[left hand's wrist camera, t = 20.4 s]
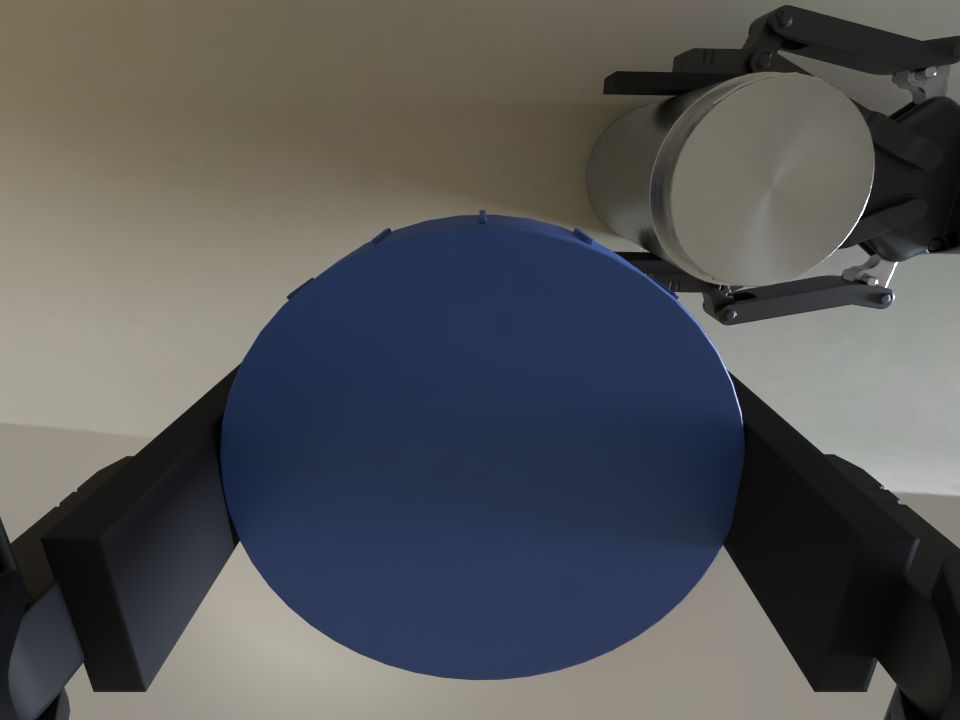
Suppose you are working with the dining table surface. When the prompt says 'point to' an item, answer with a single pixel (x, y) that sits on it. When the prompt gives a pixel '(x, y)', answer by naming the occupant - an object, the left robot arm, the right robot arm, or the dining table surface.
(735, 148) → the jar
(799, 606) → the left robot arm
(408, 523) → the lid
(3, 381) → the dining table surface
